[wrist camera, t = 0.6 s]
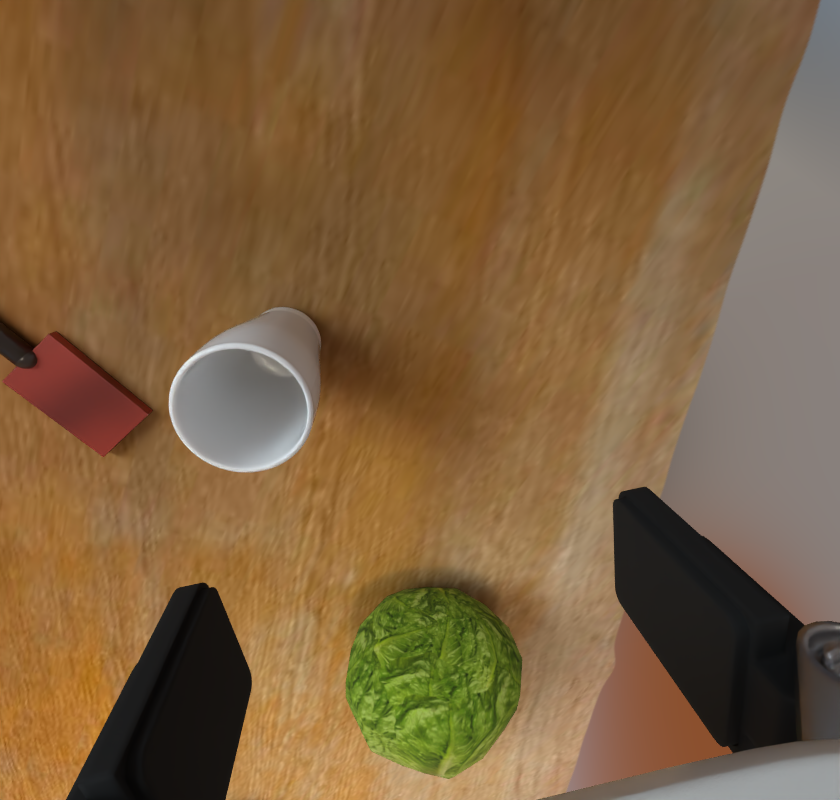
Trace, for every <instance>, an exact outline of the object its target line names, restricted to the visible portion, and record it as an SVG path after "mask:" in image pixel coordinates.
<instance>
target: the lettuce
mask: <svg viewBox="0 0 840 800" xmlns="http://www.w3.org/2000/svg"><path fill="white" fill-rule="evenodd" d="M521 671H522V657H521V655H520V653H519V650H518V648H517V646H516V643H515V641H514V639H513V636H512V634H511V632H510V629H509V628H508V627H507V626H506V625H505V624H504V623H503V622H502V621H501V620H500V619H499V618H498V617H497V616H496V615H495V614H494V613H493V612H492V611H491V610H490V609H489V608H488V607H487V606H486V605H485V604H483V603H481V602H479V601H478V600H476V599H474V598H472V597H471V596H469V595H467V594H465V593H464V592H462V591H460V590H458V589H457V588H435V587H424V588H414V589H405V590H402V591H400V592H397V593H395V594H392V595H390V596H387V597H386V598H385V599H384V600H383V601H382V602H381V603H380V604H379V605H378V606H377V607H376V608H375V609H374V611H373V612H372V613H371V614H370V615H369V616H368V617H367V618H366V619H365V620H364V622H363V623H362V624H361V625H360V627H359V630H358V633H357V635H356V638H355V641H354V643H353V646H352V649H351V654H350V660H349V666H348V672H347V678H346V699H347V701H348V703H349V706H350V708H351V710H352V713H353V715H354V717H355V719H356V721H357V723H358V725H359V727H360V729H361V731H362V733H363V735H364V738H365V740H366V742H367V744H368V746H369V748H370V750H371V751H372V752H374V753H376V754H378V755H380V756H382V757H385V758H387V759H389V760H391V761H393V762H396V763H398V764H400V765H402V766H405V767H408V768H411V769H414V770H417V771H420V772H422V773H426V774H430V775H434V776H438V777H443V778H447V779H450V778H452V777H454V776H456V775H458V774H459V773H461V772H462V771H464V770H465V769H467V768H469V767H470V766H472V765H473V764H475V763H476V762H478V761H480V760H481V759H483V757H484V756H485V755H486V753H487V752H488V751H489V749H490V748H491V747H492V745H493V744H494V743H495V741H496V740H497V739H498V737H499V736H500V735H501V733H502V732H503V731H504V729H505V728H506V726H507V724H508V723H509V721H510V719H511V718H512V716H513V714H514V713H515V711H516V710H517V706H518V702H519V697H520V688H521Z"/></svg>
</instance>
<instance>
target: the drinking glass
mask: <svg viewBox="0 0 840 800" xmlns="http://www.w3.org/2000/svg"><path fill="white" fill-rule="evenodd" d="M320 352H321V337H320V333H319V331H318V329H317V327H316V325H315V323H314V322H313V321H312V320H311V319H310V318H309V317H308V316H307V315H306V314H304V313H302V312H301V311H299V310H296V309H293V308H288V307H277V308H272V309H269V310H267V311H265V312H263V313H262V314H260V315H259V316H258V317H255V318H253V319H251V320H248V321H246V322H244V323H241V324H239V325H236V326H234V327H232V328H230V329H227V330H226V331H224V332H222V333H220V334H218V335H217V336H215V337H214V338H212V339H211V340H210V341H208V342H207V343H206V344H204V345H203V346H202V347H201V348H200V349H199V350H198V351H196V352H195V353H194V354H193V355H192V356H191V357H190V358H189V359H188V360H187V361H186V362H185V363H184V364H183V366H182V367H181V368H180V369H179V371H178V372H177V374H176V376H175V378H174V380H173V382H172V385H171V389H170V394H169V412H170V417H171V421H172V424H173V426H174V428H175V431H176V432H177V434H178V436H179V437H180V439H181V440H182V442H183V443H184V444H185V445H186V446H187V447H188V448H189V449H190V451H192V452H193V453H194V454H195V455H196V456H198V457H199V458H201V459H202V460H204V461H205V462H207V463H209V464H211V465H213V466H216V467H218V468H221V469H225V470H229V471H234V472H258V471H263V470H268V469H271V468H274V467H276V466H278V465H280V464H282V463H284V462H286V461H287V460H289V459H290V458H291V457H292V456H294V455H295V454H296V453H297V452H298V451H299V450H300V448H301V447H302V446H303V444H304V443H305V441H306V440H307V438H308V436H309V433H310V431H311V428H312V425H313V422H314V420H315V417H316V413H317V409H318V405H319V400H320V392H321V370H320Z"/></svg>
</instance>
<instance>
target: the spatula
mask: <svg viewBox="0 0 840 800" xmlns="http://www.w3.org/2000/svg"><path fill="white" fill-rule="evenodd" d="M0 354H1V355H3V356H4V357H5V358H7V359H8V360H9V361H10V362H12V363H13V364H14V365H16V366H17V367H16V368H15V369H14V370H13V371H12V372H11V373H10V374H9V375H8V376H7V377H6V378H5V379H4V380H3V381H2V382H3V383H5V384H6V385H7V386H9V387H10V388H11V389H13V390H14V391H15V392H17V393H18V394H19V395H21V396H22V397H23V398H25V399H26V400H27V401H29V402H30V403H31V404H33V405H34V406H36V407H37V408H38V409H40V410H41V411H42V412H44V413H45V414H46V415H48V416H49V417H50V418H52V419H53V420H54V421H56V422H57V423H58V424H60V425H61V426H62V427H64V428H65V429H66V430H68V431H69V432H70V433H72V434H73V435H74V436H76V437H77V438H78V439H80V440H81V441H82V442H84V443H85V444H86V445H88V446H89V447H91V448H92V449H93V450H95V451H96V452H97V453H99V454H100V455H101V456H103V457H104V456H105V455H106V454H107V453H108V452H110V451H111V450H112V449H113V448H114V447H115V446H116V445H117V444H118V443H119V442H120V441H121V440H122V439H123V438H124V437H125V436H127V435H128V434H129V433H130V432H131V431H132V430H133V429H134V428H135V427H136V426H137V425H138V424H139V423H140V422H141V421H143V420H144V419H145V418H146V417H147V416H148V415H149V414H150V413H151V412H152V411H153V410H152V409H150V408H149V407H148V406H147V405H145V404H144V403H143V402H142V401H141V400H139V399H138V398H137V397H136V396H134V395H133V394H132V393H131V392H130V391H128V390H127V389H126V388H125V387H123V386H122V385H121V384H120V383H118V382H117V381H116V380H115V379H114V378H112V377H111V376H110V375H109V374H107V373H106V372H105V371H104V370H103V369H101V368H100V367H99V366H98V365H96V364H95V363H94V362H93V361H92V360H90V359H89V358H88V357H87V356H85V355H84V354H83V353H82V352H81V351H79V350H78V349H77V348H76V347H74V346H73V345H72V344H71V343H69V342H68V341H67V340H66V339H65V338H63V337H62V336H61V335H60V334H58V333H57V332H53V333H50V334H48V335H47V336H46V337H45V338H44V339H43V340H42V341H41V342H40V343H39V344H38V345H37V346H36V347H35V348H33V347H31V346H30V345H29V344H27V343H26V342H25V341H24V340H22V339H21V338H20V337H19V336H17V335H16V334H15V333H14V332H12V331H11V330H10V329H8V328H7V327H6V326H5V325H3V324H2V323H1V322H0Z"/></svg>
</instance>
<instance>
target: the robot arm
mask: <svg viewBox="0 0 840 800" xmlns="http://www.w3.org/2000/svg"><path fill="white" fill-rule="evenodd" d="M613 523H614V561H615V590H616V594H617V597H618V600H619V602H620V604H621V605H622V607H623V608H624V610H625V611H626V613H627V614H628V615H629V617H630V618H631V620H632V621H633V623H634V624H635V626H636V627H637V628H638V630H639V631H640V633H641V634H642V636H643V637H644V638H645V640H646V641H647V643H648V644H649V646H650V647H651V649H652V650H653V651H654V653H655V654H656V656H657V657H658V659H659V660H660V662H661V663H662V664H663V666H664V667H665V669H666V670H667V672H668V673H669V675H670V676H671V677H672V679H673V680H674V682H675V683H676V684H677V686H678V687H679V689H680V690H681V692H682V693H683V695H684V696H685V698H686V699H687V700H688V702H689V703H690V705H691V706H692V708H693V709H694V711H695V712H696V713H697V715H698V716H699V718H700V719H701V721H702V722H703V724H704V725H705V726H706V728H707V729H708V731H709V732H710V733H711V735H712V736H713V738H714V739H715V740H716V742H717V743H718V744H719V745H720V746H722V747H726V746H728V747H729V748H730V749H731V751H732V752H733V753H732V754H727V755H723V756H718V757H714V758H709V759H705V760H700V761H696V762H692V763H687V764H683V765H678V766H674V767H670V768H665V769H661V770H657V771H653V772H649V773H645V774H641V775H637V776H633V777H628V778H625V779H620V780H616V781H612V782H608V783H604V784H600V785H596V786H592V787H588V788H583V789H580V790H575V791H571V792H567V793H563V794H559V795H555V796H551V797H546V798H542V799H538V800H840V623H837V622H832V621H821V622H813V623H811V624H807V625H804V624H803V623H802V622H800V621H799V620H798V619H797V618H796V617H795V616H793V615H792V614H791V613H790V612H789V611H788V610H787V609H786V608H785V607H784V606H782V605H781V604H780V603H779V602H778V601H777V600H776V599H774V597H772V596H771V595H770V594H769V593H768V592H767V591H766V590H764V589H763V588H762V587H761V586H760V585H759V584H758V583H757V582H756V581H754V580H753V579H752V578H751V577H750V576H749V575H748V574H747V573H746V572H744V571H743V570H742V569H741V568H740V567H739V566H738V565H737V564H735V563H734V562H733V561H732V560H731V559H730V558H729V557H728V556H726V555H725V554H724V553H723V552H722V551H721V550H720V549H719V548H717V547H716V546H715V545H714V544H713V543H712V542H711V541H709V540H708V539H707V538H705V537H704V536H701V535H700V534H699V533H698V532H696V531H695V530H694V529H693V528H692V527H691V526H690V525H688V523H686V522H685V521H684V520H683V519H682V518H681V517H680V516H679V515H677V514H676V513H675V512H674V511H673V510H672V509H671V508H670V507H669V506H668V505H666V504H665V503H664V502H663V501H662V500H661V499H660V498H659V497H658V496H656V495H655V494H654V493H653V492H652V491H651V490H650V489H648V488H647V487H641V488H636V489H632V490H627V491H623V492H621V493H620V495H619V499H616V500H614V502H613ZM251 687H252V678H251V673H250V670H249V667H248V665H247V662H246V660H245V657H244V655H243V652H242V650H241V647H240V645H239V643H238V640H237V638H236V635H235V633H234V630H233V628H232V625H231V623H230V621H229V618H228V616H227V613H226V611H225V608H224V606H223V603H222V601H221V598H220V596H219V594H218V591H217V590H216V588H215V587H211V588H209V587H208V585H207V584H206V583H199V584H194V585H189V586H185V587H180V588H178V589H176V590H175V592H174V593H173V595H172V597H171V599H170V601H169V603H168V605H167V607H166V609H165V611H164V613H163V615H162V617H161V619H160V621H159V622H158V624H157V626H156V628H155V630H154V632H153V634H152V636H151V638H150V640H149V642H148V644H147V646H146V648H145V650H144V652H143V654H142V656H141V658H140V660H139V662H138V663H137V665H136V666H135V668H134V669H133V671H132V672H131V674H130V676H129V678H128V680H127V682H126V684H125V686H124V688H123V690H122V692H121V694H120V696H119V698H118V700H117V702H116V704H115V705H114V707H113V709H112V711H111V713H110V715H109V717H108V719H107V721H106V723H105V725H104V727H103V729H102V731H101V733H100V735H99V737H98V739H97V741H96V742H95V744H94V746H93V748H92V750H91V752H90V754H89V756H88V758H87V760H86V762H85V764H84V766H83V768H82V770H81V772H80V774H79V776H78V778H77V779H76V781H75V783H74V785H73V787H72V789H71V791H70V793H69V795H68V797H67V799H66V800H225V799H226V795H227V790H228V786H229V782H230V778H231V773H232V769H233V765H234V761H235V756H236V752H237V748H238V744H239V739H240V735H241V731H242V727H243V722H244V718H245V714H246V710H247V705H248V701H249V697H250V693H251Z"/></svg>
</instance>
